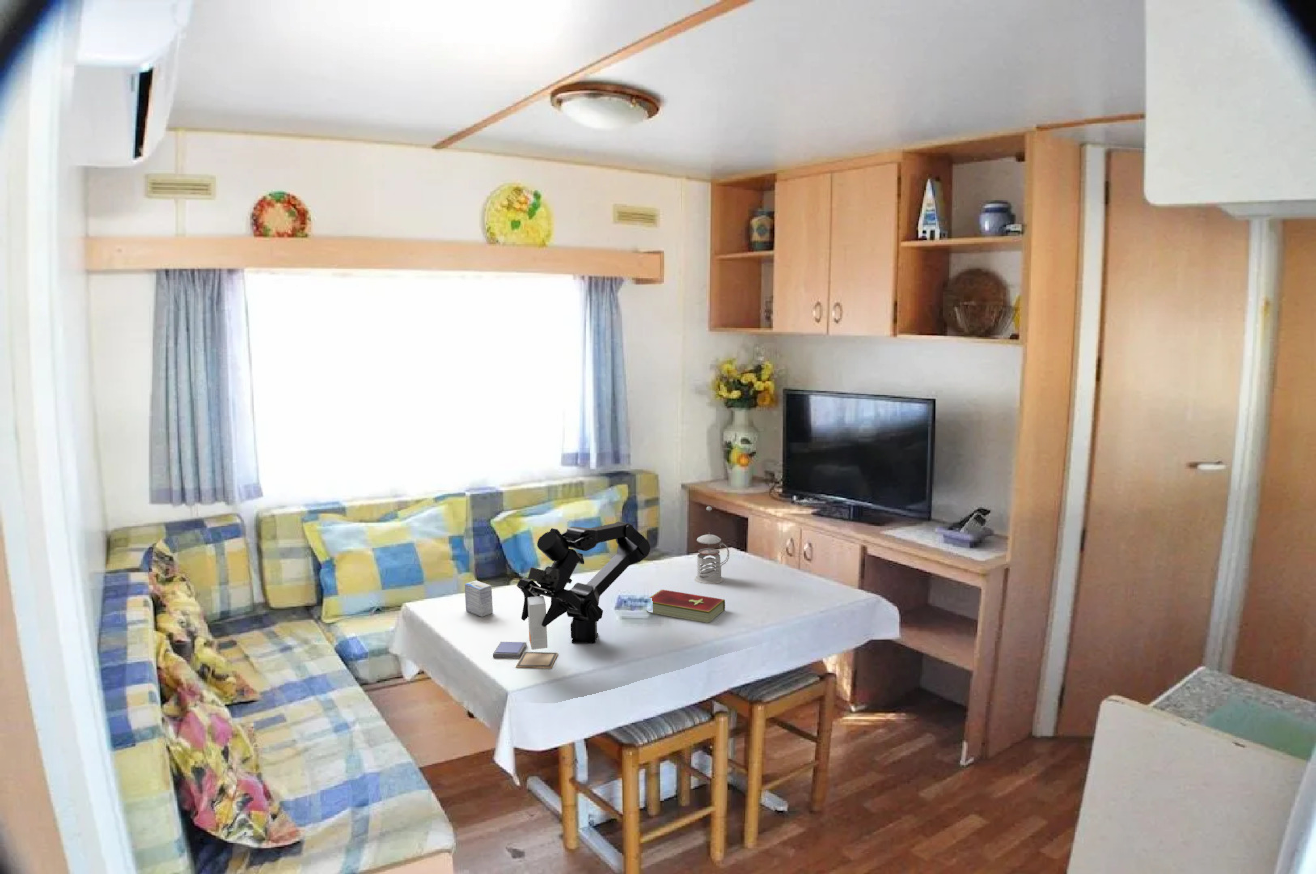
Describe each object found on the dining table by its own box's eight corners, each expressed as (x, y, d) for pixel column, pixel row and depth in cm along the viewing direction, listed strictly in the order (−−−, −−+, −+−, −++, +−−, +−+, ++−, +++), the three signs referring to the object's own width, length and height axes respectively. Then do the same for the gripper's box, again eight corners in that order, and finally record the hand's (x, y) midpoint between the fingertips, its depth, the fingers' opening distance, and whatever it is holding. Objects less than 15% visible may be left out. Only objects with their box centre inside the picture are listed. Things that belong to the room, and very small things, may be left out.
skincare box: (528, 641, 219) (527, 596, 217) (545, 639, 220) (543, 595, 218) (530, 650, 213) (529, 605, 211) (547, 648, 214) (546, 603, 212)
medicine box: (493, 613, 251) (492, 585, 249) (480, 617, 247) (479, 589, 246) (477, 607, 256) (476, 579, 255) (465, 611, 253) (464, 583, 251)
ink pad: (526, 645, 226) (526, 641, 226) (519, 658, 218) (519, 653, 218) (500, 645, 227) (500, 641, 226) (493, 657, 219) (492, 652, 219)
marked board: (557, 654, 220) (557, 652, 220) (551, 668, 212) (551, 666, 212) (524, 653, 221) (524, 651, 221) (515, 667, 212) (515, 665, 212)
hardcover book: (662, 601, 262) (662, 588, 261) (725, 611, 252) (725, 598, 252) (644, 613, 251) (644, 600, 250) (709, 625, 242) (709, 611, 241)
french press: (692, 575, 285) (692, 503, 282) (725, 574, 287) (726, 502, 283) (696, 584, 276) (696, 510, 272) (731, 583, 277) (732, 509, 273)
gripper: (520, 548, 221) (489, 600, 214) (571, 560, 210) (541, 616, 203) (543, 569, 228) (514, 620, 222) (594, 582, 217) (565, 636, 210)
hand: (532, 623), depth 214 cm, fingers closed on skincare box, 7 cm apart
